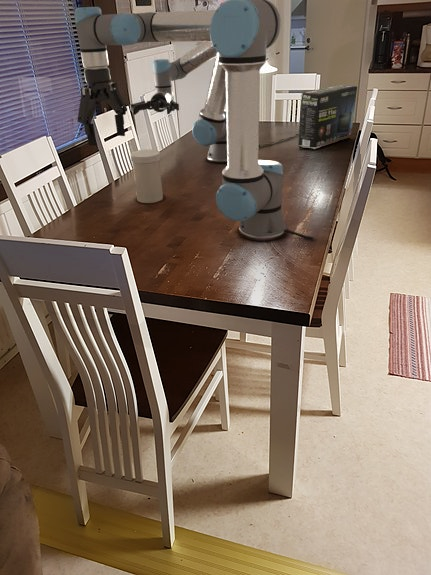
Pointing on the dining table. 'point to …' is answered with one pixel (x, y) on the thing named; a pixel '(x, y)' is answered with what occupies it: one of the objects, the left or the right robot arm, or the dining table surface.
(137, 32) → the right robot arm
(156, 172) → the jar
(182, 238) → the dining table surface
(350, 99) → the router box
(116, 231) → the dining table surface
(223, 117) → the left robot arm
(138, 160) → the lid
